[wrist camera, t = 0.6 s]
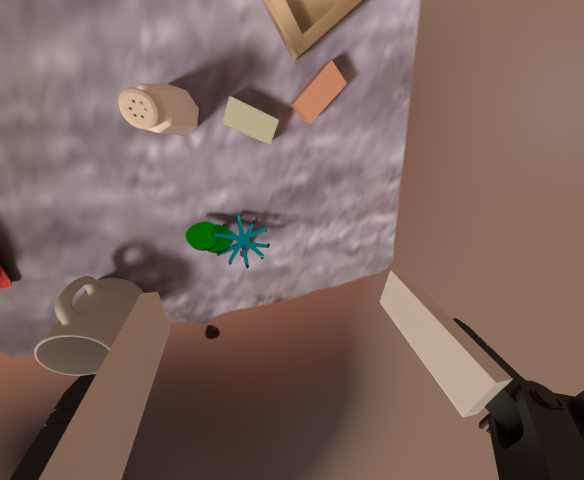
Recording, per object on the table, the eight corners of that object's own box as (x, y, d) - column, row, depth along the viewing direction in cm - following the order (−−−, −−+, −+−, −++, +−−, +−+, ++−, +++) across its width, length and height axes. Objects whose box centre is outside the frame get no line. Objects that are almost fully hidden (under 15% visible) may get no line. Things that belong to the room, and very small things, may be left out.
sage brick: (224, 122, 28) (222, 123, 26) (230, 97, 27) (229, 95, 24) (268, 142, 30) (270, 144, 28) (276, 119, 29) (279, 119, 26)
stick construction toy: (273, 217, 34) (269, 265, 30) (268, 237, 40) (264, 279, 36) (190, 205, 32) (176, 255, 28) (198, 228, 38) (187, 271, 34)
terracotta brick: (304, 123, 30) (310, 123, 27) (289, 104, 28) (294, 103, 26) (337, 86, 28) (346, 83, 26) (323, 64, 27) (331, 59, 24)
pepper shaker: (187, 145, 28) (158, 160, 19) (142, 114, 26) (84, 114, 17) (208, 107, 27) (188, 103, 17) (163, 71, 24) (112, 44, 15)
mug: (153, 310, 40) (125, 369, 31) (101, 317, 39) (56, 381, 30) (127, 256, 34) (83, 309, 25) (65, 262, 33) (-6, 321, 24)
